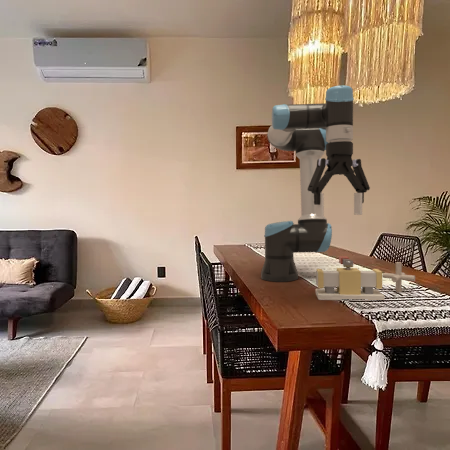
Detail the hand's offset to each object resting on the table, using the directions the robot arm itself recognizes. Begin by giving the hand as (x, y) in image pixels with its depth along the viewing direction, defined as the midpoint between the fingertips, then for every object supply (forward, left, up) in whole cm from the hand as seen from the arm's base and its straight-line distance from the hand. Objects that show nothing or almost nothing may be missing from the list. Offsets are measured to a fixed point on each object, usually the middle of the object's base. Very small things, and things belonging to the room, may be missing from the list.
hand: (339, 215), depth 110 cm
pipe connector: (-20, +23, -27) cm, 40 cm away
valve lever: (-16, +5, -17) cm, 24 cm away
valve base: (-12, +5, -27) cm, 30 cm away
